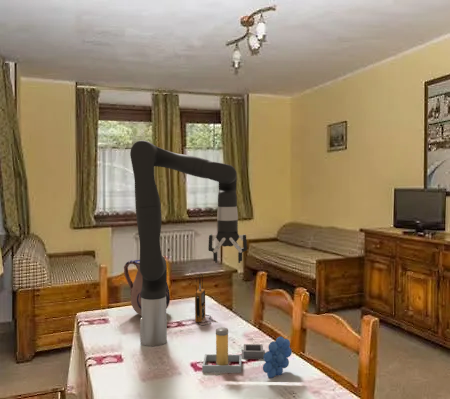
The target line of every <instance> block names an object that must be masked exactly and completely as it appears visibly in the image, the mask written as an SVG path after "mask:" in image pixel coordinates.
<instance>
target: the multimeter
mask: <svg viewBox="0 0 450 399" xmlns="http://www.w3.org/2000/svg"><path fill="white" fill-rule="evenodd" d="M203 276H204V275H203V274H202V273H199V274H198V276H196V278H195V281H197V279H198V281H199V282H198V283H199V284H198V285H199V286H198V288H197V286H195V292H194V310H195V311H194V315H195V317H194V318H195V319H194V320H195V321H194V322H195V323H197V325H199V326H201V327H203V326H207V325H211V324H212V323H215V322H216V323H218V320H215V319H212V315H208V314H206V288H204V286H203V282H204V281H203V280H204V277H203ZM201 277H202V278H201ZM206 316H207V317H209V318H208V319H209V320H211V321H212V322H208V323H205V324H200V323H203V321H204V319H205V318H206Z"/></svg>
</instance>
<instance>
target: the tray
mask: <svg viewBox="0 0 450 399" xmlns="http://www.w3.org/2000/svg"><path fill="white" fill-rule="evenodd" d="M207 362H216V353H212V354H211V353H209V354H207V353H205V354H204V358H203V361H202V365H201V366H202V368H201V370H202V371H201V372H202V373H220V374H221V373H225V374H226V373H227V374H228V373H229V374H231V373H232V374H237V373H238V374H241V373H242V354H228V362H237V363H238V365H235V364H234V365H233V364H231V365H230V364H229V365H216V364H207Z"/></svg>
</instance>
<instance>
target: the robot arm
mask: <svg viewBox="0 0 450 399" xmlns="http://www.w3.org/2000/svg"><path fill="white" fill-rule="evenodd" d="M129 154H130V161H131V167H132V171H133V179H134V198H135V200H134V201H135V202H134V203H135V204H134V205H135V217H136V225H137V233H138V234H137V235H138V239H139V260H140V267H139V268H140V273H141V275H142V289H141V307H142V316H141V318H140V320H139V329H140V330H139V333H140V335H139V337H140V342H139V343H140V345H144V346H148V347H157V346H162V345H165V344H166V343H167V341H168V338H167V337H168V334H167V332H168V330H167V326H168V325H167V324H168V322H167V309H166V288H167V284H168V282H167V281H168V280H167V279H168V278H167V276H168V275H167V273H168V272H167V267H168V266H167V261H166V259H165V256H163V255H162V250H161V234H162V204H161V198H160V195H159V191H158V187H157V185H156V181H155V180H156V179H155V167H160V168H164V169H165V168H166V169H170V170H174V171H176V172H177V171H178V172H180V173H182V174H186V175H189V176H193V177H197V178H201V179H207V180H211V181H215V182H218V194H217V213H216V214H217V215H216V216H217V218H216V219H217V220H216V221H217V232H216V233H217V234H209V235H208V246H207V247H208V248H207V249H208V251H209V252H212V254H213V256H212V258H213V262H215V263H217V264H218V260H219V259H218V250H220V247H226V248H227V247H234V248H235V249H236V250H237V251H238V253H237V255H238V256H237V257H238V262H237V263H238V264H240V263H241V262H242V261H243V253H244V252H246V251H248V243H247V234H239V231H238V229H239V225H238V224H239V223H238V221H239V216H238V202H237V201H238V200H237V197H238V195H237V183H238V182H237V181H238V179H237V178H238V173H237V170H236V169H235V167H234V166H232V165H231V164H226V163H223V162H217V161H211V160H209V159H205V158H202V157H198V156H195V155H189V154H184V153H183V154H182V153H176V152H173V151H170V150H167V149H163V148H162V147H159V146H157V145H154V144H153V143H151V142H150V141H147V140H142V139H141V140H137V141H136V142H134V143H133V145H132V146H131V148H130V153H129ZM239 239H240V241H242V242H243V245H242V246H243V247H241V245H239V242H238V240H239ZM215 240H217V241H218V243H217V244H216V246H215V248H214V247H213V242H214V241H215Z"/></svg>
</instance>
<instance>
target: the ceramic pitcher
mask: <svg viewBox="0 0 450 399" xmlns="http://www.w3.org/2000/svg"><path fill="white" fill-rule="evenodd" d="M130 265H134V266H135V267H136V269H137V272H136V274H135V278H134V281H133V280H132V279H131V277H130V273H129V266H130ZM139 267H140V259H131V260H128V261H127V262H126V263H125V264H124V266H123V272H124V277H125V279H126V282H127V283H128V284H127V285H128V287H129V289H130V304H131V307H132V309H133V310H134V312H136V314H138V315H139V316H141V317H142V307H141V289H142V275H141V273H140V268H139ZM170 301H171V293H170V288H169V285H168V283H167V288H166V310H167V309H168V308H169V305H170Z"/></svg>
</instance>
